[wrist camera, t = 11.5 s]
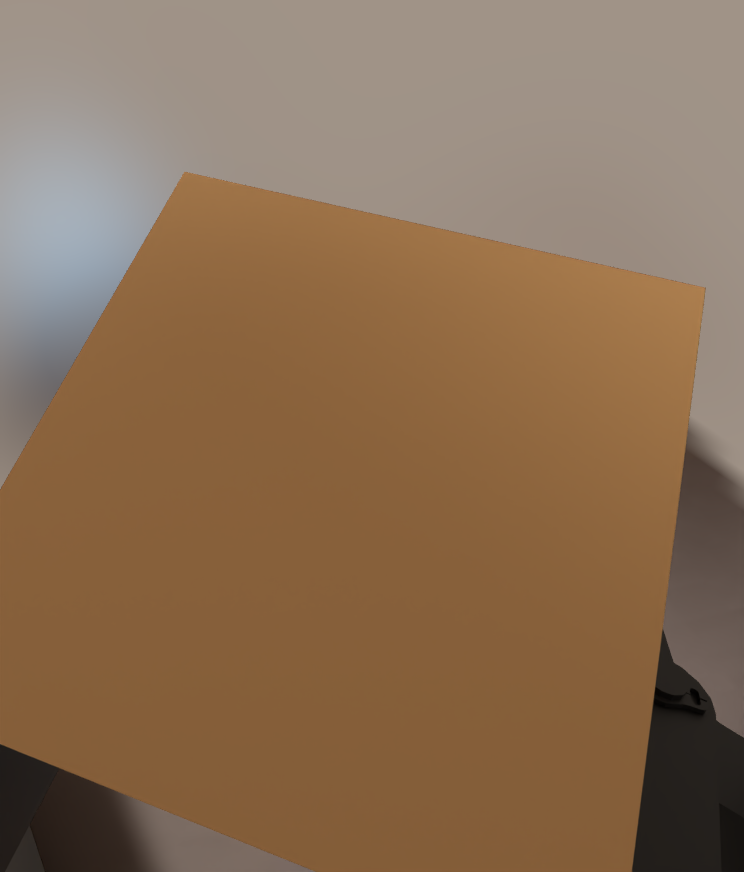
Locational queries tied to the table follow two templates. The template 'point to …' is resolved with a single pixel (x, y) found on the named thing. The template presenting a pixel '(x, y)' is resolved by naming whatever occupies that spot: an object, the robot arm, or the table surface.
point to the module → (355, 539)
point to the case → (26, 856)
